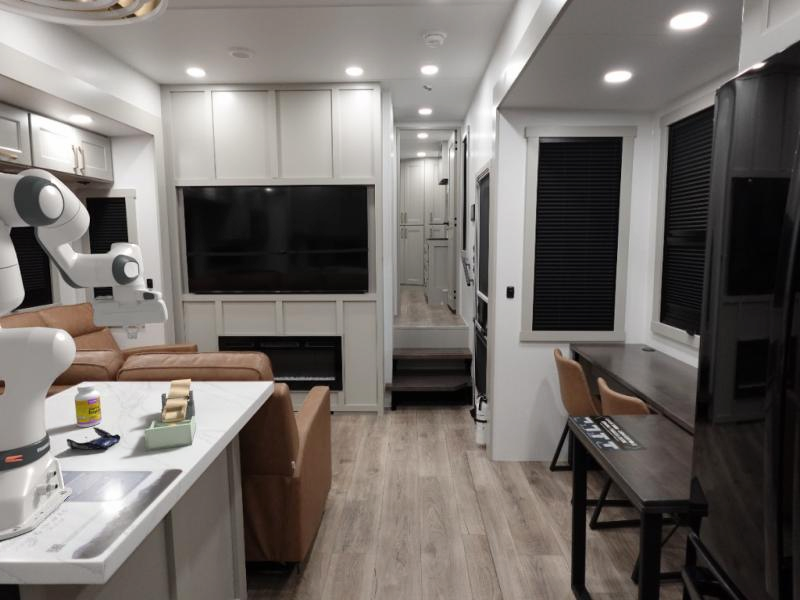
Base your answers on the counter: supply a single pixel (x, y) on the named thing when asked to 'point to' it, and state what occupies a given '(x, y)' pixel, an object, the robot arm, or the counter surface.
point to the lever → (176, 401)
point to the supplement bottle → (87, 406)
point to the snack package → (96, 441)
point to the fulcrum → (189, 410)
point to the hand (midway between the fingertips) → (133, 338)
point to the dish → (170, 434)
